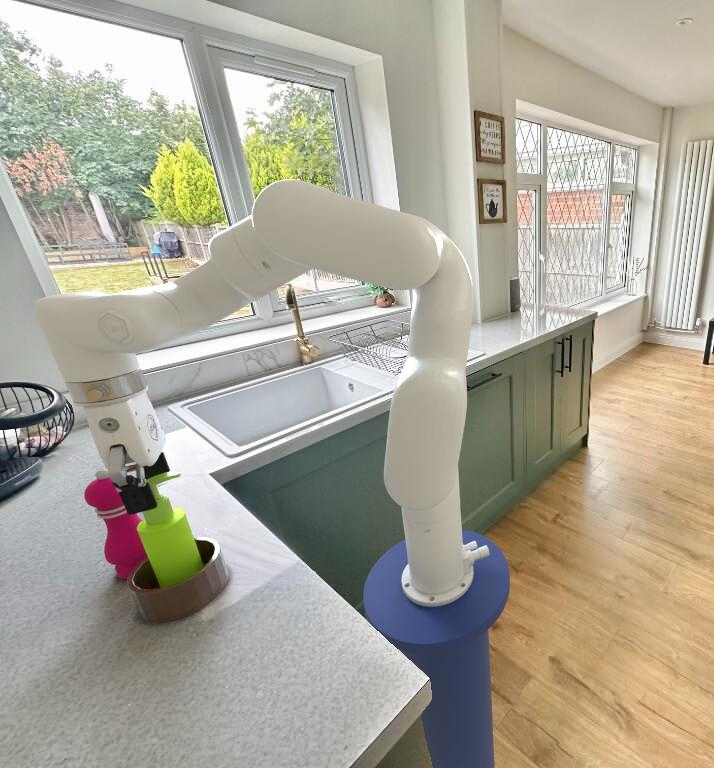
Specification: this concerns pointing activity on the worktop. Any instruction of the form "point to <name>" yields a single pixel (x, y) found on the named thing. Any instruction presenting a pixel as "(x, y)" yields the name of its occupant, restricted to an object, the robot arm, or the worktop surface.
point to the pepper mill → (116, 525)
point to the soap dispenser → (168, 538)
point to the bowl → (179, 586)
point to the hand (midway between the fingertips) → (151, 492)
